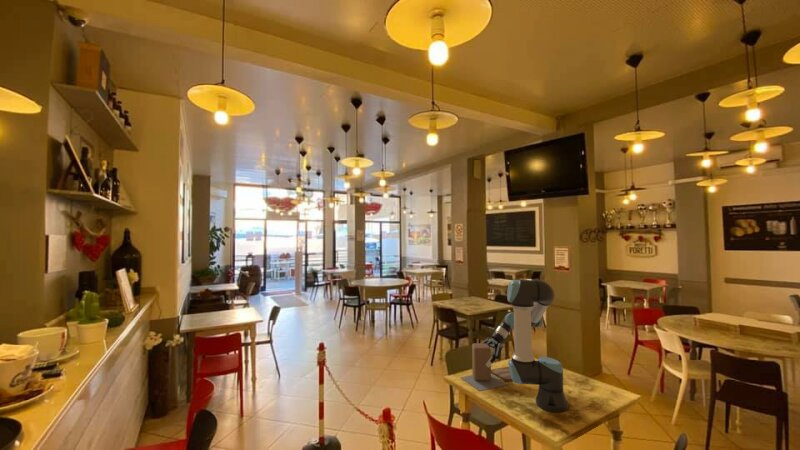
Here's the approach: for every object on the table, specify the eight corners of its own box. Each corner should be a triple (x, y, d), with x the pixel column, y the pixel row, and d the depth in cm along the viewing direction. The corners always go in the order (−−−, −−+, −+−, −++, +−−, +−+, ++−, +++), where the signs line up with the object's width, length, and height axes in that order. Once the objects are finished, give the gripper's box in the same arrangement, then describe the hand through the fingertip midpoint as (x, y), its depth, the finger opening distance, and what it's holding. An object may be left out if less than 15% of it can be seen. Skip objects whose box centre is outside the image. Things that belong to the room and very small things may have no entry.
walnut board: (526, 377, 209) (526, 375, 210) (505, 381, 203) (505, 379, 204) (509, 368, 224) (509, 366, 224) (489, 372, 218) (489, 369, 218)
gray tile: (507, 385, 199) (507, 384, 199) (479, 391, 192) (479, 390, 192) (486, 372, 218) (486, 372, 218) (460, 377, 210) (460, 377, 210)
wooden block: (491, 381, 204) (490, 348, 205) (474, 381, 204) (474, 347, 205) (488, 374, 214) (487, 343, 215) (472, 374, 214) (471, 342, 215)
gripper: (516, 344, 205) (496, 373, 198) (491, 333, 228) (472, 359, 222) (509, 336, 203) (489, 365, 197) (484, 326, 226) (465, 352, 220)
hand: (480, 362), depth 209 cm, fingers open, 13 cm apart
